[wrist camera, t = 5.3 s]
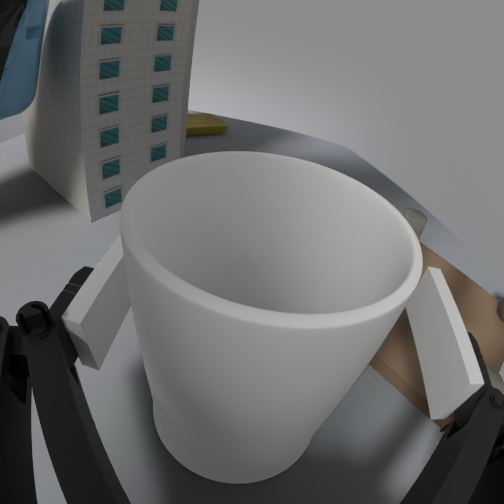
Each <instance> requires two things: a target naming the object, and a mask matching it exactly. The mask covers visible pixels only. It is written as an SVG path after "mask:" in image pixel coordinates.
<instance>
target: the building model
mask: <svg viewBox="0 0 504 504" xmlns="http://www.w3.org/2000/svg"><path fill="white" fill-rule="evenodd" d="M198 6H199V0H50V2H49V7H48V13H47V19H46V25H45V31H44V37H43V44H42V52H41V59H40V67H39V76H38V84H37V91H36V95H35V98H34V100H33V102H32V104H31V105H30V106H29V107H28V108H27V109H26V110H25V111H23V116H24V127H25V136H26V145H27V152H28V159H29V165H30V166H31V167H32V168H33V169H34V170H35V171H36V172H37V173H38V174H39V175H40V176H41V177H42V178H43V179H44V180H45V181H46V182H47V183H48V184H50V185H51V186H52V187H53V188H54V189H55V190H56V191H57V192H58V193H59V194H60V195H61V196H62V197H63V198H65V199H66V200H67V201H68V202H69V203H70V204H71V205H72V206H73V207H74V208H76V209H77V210H78V211H79V212H80V213H81V214H82V215H83V216H85V217H86V218H87V219H88V220H89V221H90V222H91V223H92V222H94V221H96V220H98V219H101V218H103V217H105V216H107V215H109V214H112V213H114V212H116V211H118V210H121V207H122V204H123V201H124V199H125V197H126V195H127V193H128V192H129V190H130V189H131V188H132V187H133V185H134V184H135V183H136V182H137V181H138V180H139V179H141V178H142V177H143V176H144V175H146V174H147V173H149V172H150V171H152V170H154V169H156V168H157V167H159V166H162V165H164V164H166V163H169V162H171V161H174V160H177V159H180V158H184V157H185V143H186V126H187V112H188V98H189V86H190V76H191V65H192V55H193V46H194V37H195V29H196V21H197V13H198Z"/></svg>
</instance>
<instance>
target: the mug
mask: <svg viewBox="0 0 504 504" xmlns="http://www.w3.org/2000/svg"><path fill="white" fill-rule="evenodd" d="M120 231H121V240H122V248H123V256H124V263H125V270H126V276H127V282H128V288H129V294H130V300H131V306H132V311H133V316H134V321H135V326H136V331H137V336H138V341H139V345H140V350H141V354H142V358H143V363H144V367H145V371H146V375H147V379H148V383H149V387H150V391H151V394H152V398H153V416H154V422H155V426H156V429H157V432H158V435H159V437H160V439H161V441H162V442H163V444H164V446H165V447H166V449H167V450H168V451H169V452H170V454H171V455H172V456H173V457H174V458H175V459H176V460H177V461H178V462H179V463H181V464H182V465H183V466H185V467H186V468H187V469H189V470H191V471H192V472H194V473H196V474H198V475H200V476H202V477H205V478H208V479H211V480H214V481H218V482H224V483H233V484H243V483H253V482H258V481H262V480H265V479H268V478H271V477H273V476H275V475H277V474H279V473H281V472H283V471H284V470H286V469H287V468H289V467H290V466H291V465H293V464H294V463H295V462H296V461H297V460H298V459H299V458H300V457H301V455H302V454H303V453H304V451H305V450H306V448H307V447H308V445H309V443H310V441H311V439H312V436H313V435H314V434H315V432H316V431H317V430H318V429H319V428H320V426H321V425H322V424H323V423H324V422H325V420H326V419H327V418H328V417H329V415H330V414H331V413H332V412H333V410H334V409H335V408H336V407H337V405H338V404H339V403H340V402H341V400H342V399H343V398H344V396H345V395H346V394H347V392H348V391H349V390H350V388H351V387H352V386H353V384H354V383H355V382H356V380H357V379H358V378H359V376H360V375H361V373H362V372H363V371H364V369H365V368H366V366H367V365H368V364H369V362H370V361H371V359H372V358H373V356H374V355H375V353H376V352H377V350H378V349H379V347H380V346H381V344H382V343H383V341H384V340H385V338H386V337H387V335H388V334H389V332H390V331H391V329H392V327H393V326H394V324H395V323H396V321H397V319H398V318H399V316H400V315H401V313H402V311H403V310H404V308H405V306H406V305H407V303H408V301H409V299H410V298H411V296H412V294H413V292H414V290H415V288H416V286H417V284H418V282H419V279H420V277H421V273H422V267H423V257H422V250H421V246H420V243H419V241H418V238H417V236H416V234H415V232H414V230H413V229H412V227H411V226H410V224H409V223H408V221H407V220H406V219H405V218H404V216H403V215H402V214H401V213H400V212H399V211H398V210H397V209H396V208H395V207H394V206H393V205H392V204H391V203H389V202H388V201H387V200H386V199H385V198H383V197H382V196H381V195H379V194H378V193H376V192H375V191H374V190H372V189H370V188H369V187H367V186H366V185H364V184H362V183H360V182H359V181H357V180H355V179H353V178H351V177H349V176H347V175H345V174H342V173H340V172H338V171H335V170H333V169H330V168H328V167H325V166H322V165H319V164H316V163H313V162H309V161H306V160H302V159H298V158H294V157H289V156H284V155H278V154H272V153H263V152H251V151H223V152H211V153H203V154H197V155H192V156H188V157H184V158H180V159H177V160H174V161H171V162H169V163H166V164H164V165H162V166H159V167H157V168H156V169H154V170H152V171H150V172H149V173H147V174H146V175H144V176H143V177H142V178H141V179H139V180H138V181H137V182H136V183H135V184H134V185H133V187H132V188H131V189H130V190H129V192H128V193H127V195H126V197H125V199H124V201H123V204H122V207H121V212H120Z"/></svg>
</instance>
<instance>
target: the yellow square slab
mask: <svg viewBox="0 0 504 504" xmlns="http://www.w3.org/2000/svg"><path fill="white" fill-rule="evenodd" d="M228 126H229V125H227V124H226V123H224V122H223V121H221V120H220V119H218V118H217V117H215V116H214V115H212V114H187V126H186V136H189V135H203V134H220V133H222V132H223V131H224V130H226V129H227V128H228Z"/></svg>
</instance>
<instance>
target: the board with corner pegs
mask: <svg viewBox="0 0 504 504" xmlns="http://www.w3.org/2000/svg"><path fill="white" fill-rule="evenodd" d="M403 216H404V218H405V219H406V220H407V221H408V223H409V224H410V226H411V227H412V229H413V230H414V232H415V234H416V236H417V238H418V239H419V237H420V235H421V233H422V230H423V228H424V226H425V224H426V221H427V217H426V216H425V215H424V214H423V213H422V212H420V211H418V210H416V209H413V208H406V209H405V212H404V214H403ZM419 243H420V246H421V250H422V257H423V267H422V273H421V277H420V279H419V282H420V280H421V278H422V276H423V274H424V273H425V271H426V269H427V267H428V266H429V267H434V268H438V269H440V270H441V272H442V274H443V276H444V278H445V280H446V283H447V285H448V287H449V289H450V292H451V294H452V296H453V299H454V301H455V303H456V306H457V308H458V311H459V313H460V315H461V318H462V320H463V323H464V326H465V328H466V331H467V332H471V333H472V335H473V336H474V338H475V339H476V340H477V342H478V345H479V348H480V350H481V351H480V353H482V356H483V360H484V362H485V365H486V368H487V371H488V374H489V377H490V380H491V383H492V386H493V387H494V388H497V389H499V390H500V391H501V392H502V393H503V392H504V382H503V379H502V377H501V375H500V374H499V371H500V369H501V366H502V364H503V361H504V299H503V301H502V302H501V303H500V302H499V301H498V300H496V299H495V298H494V297H493V296H492V295H490V294H489V293H488V292H487V291H485V290H484V289H483V288H482V287H480V286H479V285H478V284H476V283H475V282H474V281H473V280H471V279H470V278H469V277H467V276H466V275H465V274H463V273H462V272H461V271H459V270H458V269H457V268H455V267H454V266H453V265H451V264H450V263H449V262H447V261H446V260H445V259H443V258H442V257H440V256H439V255H438V254H436V253H435V252H433V251H432V250H431V249H429V248H428V247H426V246H425V245H424V244H422V243H421V242H419ZM419 282H418V283H419ZM417 285H418V284H417ZM416 287H417V286H416ZM415 289H416V288H415ZM414 291H415V290H414ZM369 364H370V365H371V366H372V367H374V368H375V369H376V370H377V371H378V372H379V373H380V374H381V375H382V376H384V377H385V378H386V379H387V380H388V381H389V382H390V383H391V384H393V385H394V386H395V387H396V388H397V389H398V390H399V391H400V392H401V393H403V394H404V395H405V396H406V397H407V398H408V399H409V400H410V401H412V402H413V403H414V404H415V405H416V406H417V407H418V408H419V409H420V410H422V411H423V412H424V413H425V414H426V415H427V416H428V417H429V418H431V417H430V411H429V405H428V400H427V395H426V389H425V385H424V380H423V375H422V370H421V366H420V361H419V357H418V353H417V349H416V345H415V341H414V337H413V333H412V329H411V325H410V322H409V318H408V314H407V311H406V307H405V308H404V310H403V311H402V313H401V315H400V316H399V318H398V319H397V321H396V323H395V324H394V326H393V327H392V329H391V331H390V332H389V334H388V335H387V337H386V338H385V340H384V341H383V343H382V344H381V346H380V347H379V349H378V350H377V352H376V353H375V355H374V356H373V358H372V359H371V361H370V362H369ZM454 418H455V417H454V413H451V414H450V415H449V416H448V417H447V418H445V419H433V421H434V422H435V423H436V424H437V425H438V426H440V427H441V428H443V427H444V426H445V425H447V424H448V423H449V422H450V421H452V420H453V419H454ZM444 431H446V429H445V430H444Z"/></svg>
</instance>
